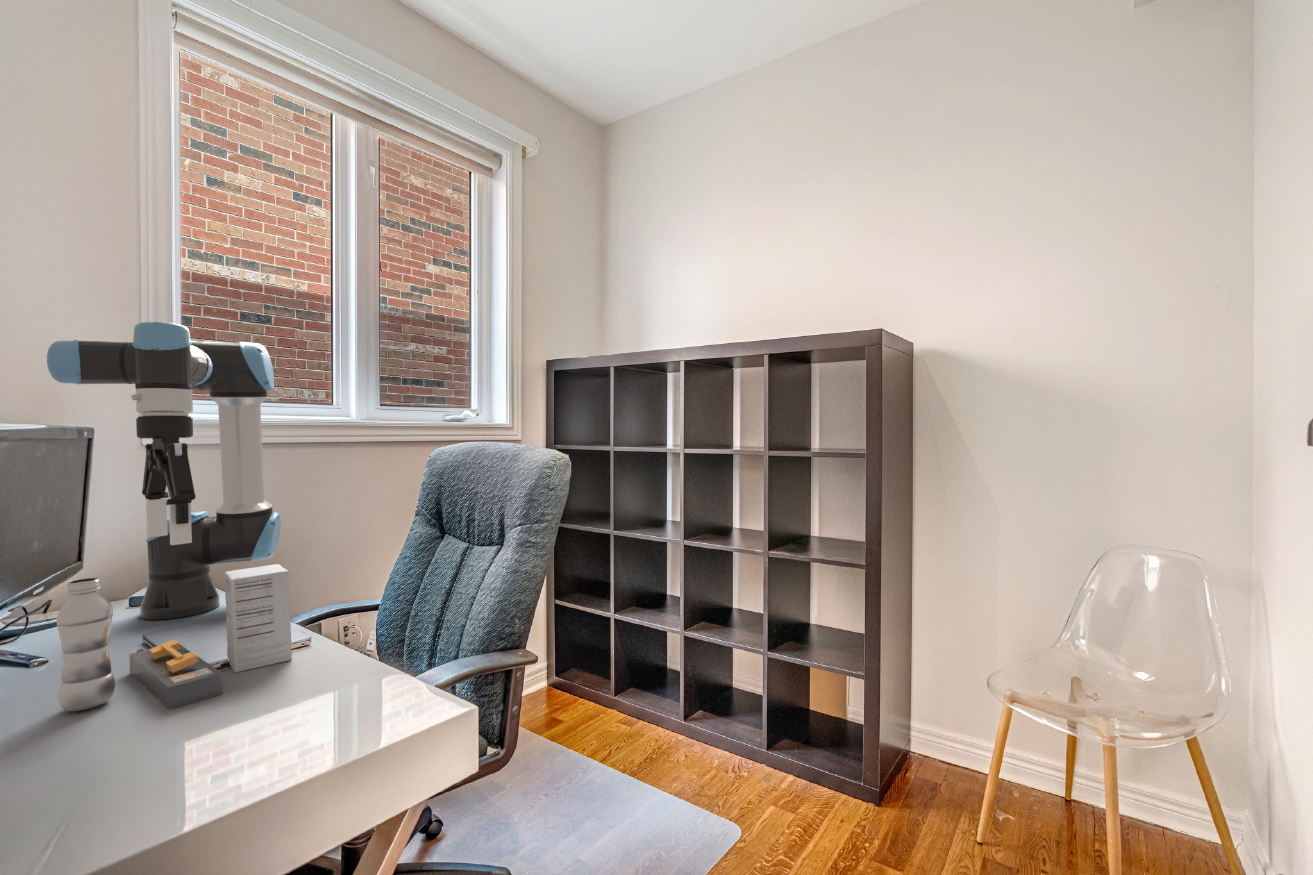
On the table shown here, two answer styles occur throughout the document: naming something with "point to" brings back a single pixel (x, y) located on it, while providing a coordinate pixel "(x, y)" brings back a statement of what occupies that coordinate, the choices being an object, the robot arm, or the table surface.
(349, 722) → the table surface
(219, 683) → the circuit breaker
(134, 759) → the table surface
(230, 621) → the supplement box
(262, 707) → the table surface
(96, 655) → the plastic bottle
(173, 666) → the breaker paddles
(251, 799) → the table surface
